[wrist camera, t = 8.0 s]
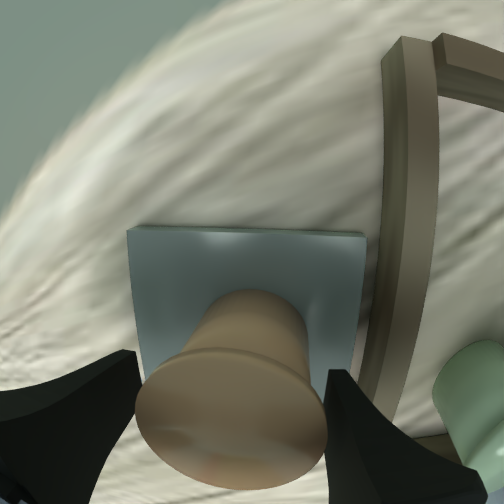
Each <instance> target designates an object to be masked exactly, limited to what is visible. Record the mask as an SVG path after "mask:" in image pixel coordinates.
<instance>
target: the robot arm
mask: <svg viewBox="0 0 504 504" xmlns="http://www.w3.org/2000/svg"><path fill="white" fill-rule="evenodd" d="M141 387H142V382H141V377H140V372H139V367H138V361H137V356H136V352H135V351H130V350H124V349H122V350H119V351H116V352H114V353H112V354H110V355H108V356H105V357H103V358H101V359H99V360H97V361H95V362H93V363H91V364H89V365H87V366H85V367H83V368H80V369H78V370H76V371H74V372H71V373H69V374H66V375H64V376H62V377H59V378H57V379H54V380H51V381H48V382H45V383H41V384H38V385H34V386H29V387H25V388H20V389H15V390H7V391H0V504H89V501H90V498H91V495H92V492H93V490H94V487H95V485H96V482H97V480H98V477H99V475H100V473H101V470H102V468H103V466H104V464H105V461H106V459H107V457H108V456H109V454H110V452H111V450H112V449H113V447H114V446H115V444H116V442H117V441H118V439H119V438H120V436H121V435H122V433H123V431H124V430H125V428H126V427H127V425H128V423H129V422H130V420H131V419H132V417H133V415H134V414H135V403H136V399H137V395H138V393H139V391H140V389H141ZM323 406H324V408H325V413H326V419H327V430H328V440H327V445H326V448H325V451H324V454H325V461H326V469H327V476H328V486H329V504H504V487H503V488H501V489H499V490H496V491H494V492H491V493H487V491H486V488H485V486H484V483H483V481H482V479H481V477H480V475H479V473H478V472H477V470H474V469H471V468H468V467H466V466H463V465H460V464H457V463H455V462H452V461H450V460H448V459H446V458H444V457H442V456H440V455H438V454H436V453H434V452H432V451H430V450H428V449H427V448H425V447H423V446H422V445H420V444H419V443H417V442H416V441H414V440H413V439H411V438H410V437H409V436H407V435H406V434H405V433H403V432H402V431H401V430H400V429H398V428H397V427H396V426H395V425H393V424H392V423H391V422H390V421H389V420H388V419H387V418H386V417H385V416H384V415H383V414H382V413H381V412H380V411H379V410H378V409H377V408H376V407H375V406H374V404H373V403H372V402H371V401H370V400H369V399H368V397H367V396H366V395H365V394H364V392H363V391H362V390H361V389H360V387H359V386H358V385H357V383H356V382H355V381H354V379H353V378H352V377H351V375H350V374H349V373H348V371H347V370H346V369H329V370H328V377H327V383H326V389H325V395H324V401H323Z"/></svg>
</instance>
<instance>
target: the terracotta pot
mask: <svg viewBox="0 0 504 504" xmlns="http://www.w3.org/2000/svg"><path fill="white" fill-rule="evenodd" d="M135 416H136V421H137V425H138V428H139V430H140V432H141V434H142V436H143V438H144V440H145V441H146V443H147V444H148V445H149V447H150V448H151V449H152V450H153V451H154V452H155V453H156V454H157V455H158V456H159V457H160V458H161V459H162V460H163V461H164V462H166V463H167V464H168V465H169V466H171V467H172V468H174V469H175V470H177V471H179V472H180V473H182V474H184V475H186V476H188V477H190V478H192V479H195V480H197V481H200V482H203V483H205V484H209V485H212V486H216V487H221V488H226V489H235V490H260V489H267V488H273V487H277V486H281V485H284V484H287V483H289V482H291V481H294V480H296V479H298V478H299V477H301V476H303V475H304V474H306V473H307V472H308V471H310V470H311V469H312V468H313V467H314V466H315V465H316V464H317V463H318V461H319V460H320V458H321V457H322V455H323V453H324V451H325V448H326V445H327V440H328V430H327V419H326V413H325V408H324V406H323V403H322V401H321V399H320V397H319V395H318V394H317V392H316V391H315V389H314V388H313V387H312V386H311V376H310V358H309V343H308V332H307V327H306V325H305V322H304V320H303V318H302V316H301V315H300V313H299V312H298V311H297V309H296V308H295V307H294V306H293V305H292V304H290V303H289V302H288V301H286V300H285V299H283V298H282V297H280V296H278V295H276V294H273V293H271V292H267V291H264V290H257V289H243V290H237V291H233V292H230V293H227V294H225V295H223V296H221V297H220V298H218V299H217V300H216V301H214V302H213V303H212V304H211V305H210V306H209V308H208V309H207V310H206V312H205V313H204V315H203V316H202V318H201V320H200V321H199V323H198V324H197V326H196V328H195V329H194V331H193V332H192V334H191V336H190V337H189V339H188V341H187V342H186V344H185V345H184V347H183V349H182V350H181V352H180V353H179V354H177V355H174V356H172V357H170V358H168V359H167V360H165V361H164V362H162V363H161V364H160V365H158V366H157V367H156V368H155V369H154V370H153V372H152V373H151V374H150V376H149V377H148V378H147V380H146V381H145V383H144V384H143V386H142V387H141V389H140V391H139V393H138V395H137V399H136V403H135Z"/></svg>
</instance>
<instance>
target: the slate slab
mask: <svg viewBox="0 0 504 504" xmlns="http://www.w3.org/2000/svg"><path fill="white" fill-rule="evenodd" d="M367 239H368V238H367V237H366V236H365V235H364V234H363V233H351V232H328V231H304V230H277V229H245V228H207V227H153V226H136V227H134V228H131V229H128V230H127V243H128V256H129V267H130V278H131V287H132V296H133V304H134V312H135V319H136V327H137V333H138V340H139V346H140V352H141V358H142V364H143V369H144V375H145V380H147V378H148V377H149V376H150V374H151V373H152V372H153V370H154V369H155V368H156V367H157V366H158V365H160V364H161V363H162V362H164V361H165V360H167V359H168V358H170V357H172V356H174V355H177V354H179V353H180V352H181V350H182V349H183V347H184V345H185V344H186V342H187V341H188V339H189V337H190V336H191V334H192V332H193V331H194V329H195V328H196V326H197V324H198V323H199V321H200V320H201V318H202V316H203V315H204V313H205V312H206V310H207V309H208V308H209V306H210V305H211V304H212V303H213V302H214V301H216V300H217V299H218V298H220V297H221V296H223V295H225V294H227V293H230V292H233V291H237V290H243V289H257V290H264V291H267V292H271V293H273V294H276V295H278V296H280V297H282V298H283V299H285V300H286V301H288V302H289V303H290V304H292V305H293V306H294V307H295V308H296V309H297V311H298V312H299V313H300V315H301V316H302V318H303V320H304V322H305V325H306V327H307V332H308V343H309V358H310V376H311V386H312V387H313V388H314V389H315V391H316V392H317V394H318V395H319V397H320V399H321V401H322V403H323V401H324V395H325V389H326V383H327V377H328V370H329V369H346V370H347V371H348V373H349V372H350V367H351V361H352V356H353V350H354V344H355V338H356V332H357V325H358V318H359V311H360V304H361V296H362V288H363V280H364V271H365V261H366V250H367Z"/></svg>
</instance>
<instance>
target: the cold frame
mask: <svg viewBox="0 0 504 504" xmlns="http://www.w3.org/2000/svg"><path fill="white" fill-rule="evenodd" d="M381 68H382V84H383V106H384V176H383V200H382V216H381V230H380V242H379V252H378V262H377V271H376V279H375V287H374V295H373V302H372V309H371V315H370V321H369V328H368V333H367V339H366V345H365V350H364V355H363V361H362V366H361V370H360V375H359V380H358V384H357V385H358V386H359V387H360V389H361V390H362V391H363V392H364V394H365V395H366V396H367V397H368V399H369V400H370V401H371V402H372V403H373V404H374V406H375V407H376V408H377V409H378V410H379V411H380V412H381V413H382V414H383V415H384V416H385V417H386V418H387V419H388V420H389V421H390V422H391V423H392V421H393V418H394V415H395V412H396V409H397V406H398V403H399V400H400V397H401V394H402V391H403V387H404V384H405V381H406V377H407V374H408V370H409V367H410V363H411V359H412V355H413V351H414V348H415V343H416V339H417V335H418V331H419V326H420V322H421V317H422V312H423V307H424V302H425V297H426V291H427V286H428V280H429V273H430V267H431V260H432V252H433V244H434V235H435V226H436V214H437V201H438V183H439V114H438V96H437V95H439V96H444V97H448V98H453V99H457V100H461V101H465V102H469V103H473V104H477V105H481V106H484V107H488V108H492V109H495V110H498V111H502V112H504V53H503V52H500V51H497V50H495V49H492V48H489V47H487V46H484V45H481V44H478V43H475V42H472V41H469V40H466V39H463V38H460V37H456V36H453V35H449V34H446V33H441V34H440V35H439V36H438V37H437V38H436V39H435V40H433V41H432V42H429V41H425V40H420V39H416V38H411V37H406V36H401V37H400V38H399V39H398V40H397V42H396V43H395V44H394V45H393V47H392V48H391V49H390V50H389V52H388V53H387V54H386V55H385V57H384V58H383V59H382V60H381ZM413 440H414V441H416V442H417V443H419V444H420V445H422V446H423V447H425V448H427V449H428V450H430V451H432V452H434V453H436V454H438V455H440V456H442V457H444V458H446V459H448V460H450V461H452V462H455V463H457V464H460V465H463V464H462V462H461V459H460V457H459V455H458V453H457V451H456V448H455V446H454V444H453V442H452V440H451V438H450V435H449V434H444V435H438V436H431V437H424V438H417V439H413Z"/></svg>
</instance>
